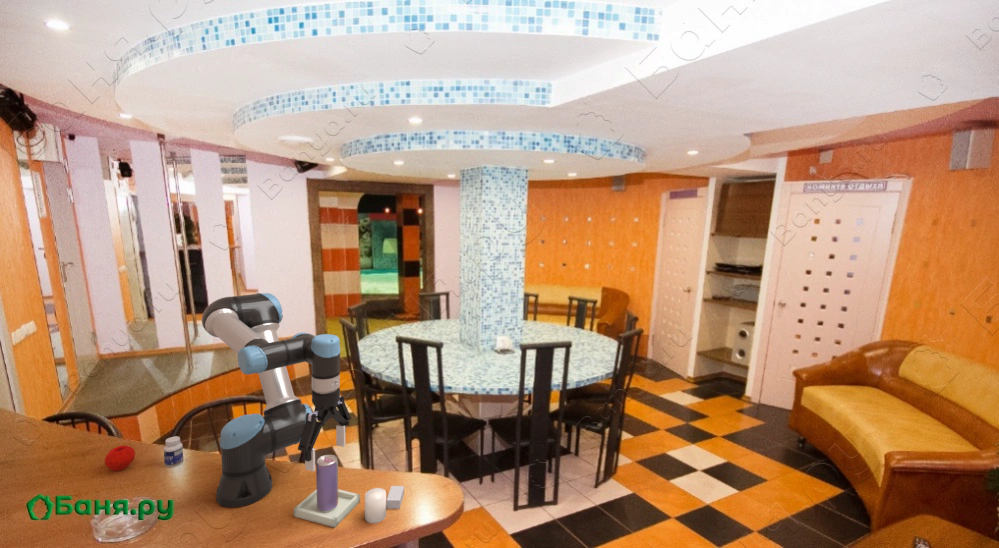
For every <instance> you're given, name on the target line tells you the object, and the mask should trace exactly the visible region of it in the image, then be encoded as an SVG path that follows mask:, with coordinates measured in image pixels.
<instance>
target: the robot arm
mask: <svg viewBox="0 0 999 548" xmlns="http://www.w3.org/2000/svg"><path fill="white" fill-rule="evenodd" d="M283 316H284V315H283V308H282V304H281V302H280V300H279V299H278V298H277V297H276V296H275V295H274V294H272V293H270V292H269V293H268V292H265V293H262V292H261V293H260V292H257V293H253V294H243V295H235V296H234V295H233V296H225V297H221V298H218V299H216V300H214V301H213V302H211V303H210V304H209V305H208V306H207V307H206V308H205V309H204V311H203V313H202V316H201V325H202V328H203V329H204V330H205V331H206V333H208V335H210V336H212V337H214V338H219V340H221V341H222V342H223V343H224V344H226V345H227V346H228V347H229V348H230V349H231V350H232V351H233V352H235V353H236V354H237V365H238V367H239V369H240V372H241V373H242V374H244V375H246V376H247V375H253V374H258V377H259V380H260V384H261V388H262V391H263V395H264V399H265V403H266V407H265V408H264V409H263V411H262V414H263V415H264V416H263V415H261V414H260V413H251V414H249V413H247V414H244V415H240V416H238V417H235V418H233V419H231V420H230V421H228V422H227V423H226V424H225V425H224V426H222V427H223V428H221V432H220V439H219V446H220V457H221V476H220V478H219V479H220V480H219V483H218V486H217V489H216V492H215V494H216V497H215V498H216V503H217V504H218V505H219V506H220V507H225V508H240V507H245V506H249V505H252V504H254V503H256V502H258V501H261V500H262V499H263V498H265V497H266V496H268V494H269V493H270V492H271V491H272V488H273V479H272V476H271V475H272V474H271V473H270V471H269V468H268V466H267V464H266V455H269V454H271V453H274V452H277V451H280V450H283V449H285V448H287V447H291V446H293V445H297V444H298V446H297V450H298V451H300V452H303V460H304V467H305V468H304V469H305V470H306V471H310V472H316V448H314V446H315V444H316V441H317V439H318V437H319V434H320V432H321V430H322V427H324V426H325V424H326V422H328V421H329V420H331V419H333V420H334V421H335V422H336V423H338V424H337V425H336V427H335V429H336V436H335V437H336V439H335V442H336V446H337V447H342V448H344V447H346V432H347V426H349V425H350V421H351V418H352V417H351V415H350V413H349V410H348V407H347V405H346V403H345V397H344V396H342V395H341V388H340V387H341V386H340V384H341V383H340V381H341V378H340V377H341V374H340V373H341V350H342V349H341V346H340V345H341V343H340V338H339V336H338V335H336V334H331V333H330V334H328V333H323V334H317V335H314V334H311V333H307V332H298V333H296V334H295V335H293V336H292V337H291V338H287V339H281V340H279V336H278V334H277V332H278V331H277V330H278V329H279V328H280V323H281V322H282V321H283ZM302 363H307V364H309V365H311V390H312V391H311V402H312V404H313V406H314V411H312V409H311V407H310V405H309V404H307V403H302V400H301V398H300V397H298V396H296V395H295V393H294V389H293V385H292V382H291V380H290V375H289V372H288V368H287V367H288V366H292V365H293V366H294V365H298V364H302Z"/></svg>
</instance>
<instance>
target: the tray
mask: <svg viewBox="0 0 999 548" xmlns="http://www.w3.org/2000/svg"><path fill="white" fill-rule="evenodd" d="M360 502H361V494H359V493H356V492H352V491H351V492H350V491H347V490H342V489H339V488H338V505H337V507H336V508H335V509H334V510H332V511H329V512H321V511H319V510H318V508H317V488H316V489H315V490H314V491H312V493H311V492H310V494H309V495H308V496H306V497H305V499H303V500H302V501H301V502H300V503H298V504H297V505H296V506H295V507H294V508H293V517H295V518H299V519H302V520H305V521H310V522H313V523H316V524H320V525H324V526H325V527H326V526H327V527H331V528H334V529H335V528H337V526H338V525H339V524H340V523H341V522H342V521H343V520H344V519H345V518H346V517H347V516H348V515H349V513H351V512H352V511H353V509H354V508H356V507H357V506H358V504H359V503H360Z"/></svg>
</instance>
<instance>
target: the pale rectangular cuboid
mask: <svg viewBox="0 0 999 548" xmlns="http://www.w3.org/2000/svg"><path fill="white" fill-rule="evenodd" d="M404 495H405V486H404V485H391V486H390V489H389V492H388V495H387V496H386V510H388V509H389V510H390V509H393V510H394V509H396V510H398V509H401V506H402V503H403V498H404Z"/></svg>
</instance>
